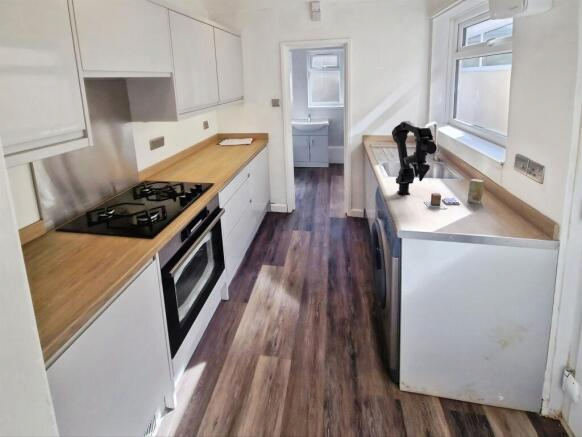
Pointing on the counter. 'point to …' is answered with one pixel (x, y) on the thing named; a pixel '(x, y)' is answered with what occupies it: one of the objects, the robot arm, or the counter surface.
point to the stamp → (435, 199)
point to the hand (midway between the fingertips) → (418, 178)
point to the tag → (435, 206)
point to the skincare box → (475, 190)
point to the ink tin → (450, 201)
